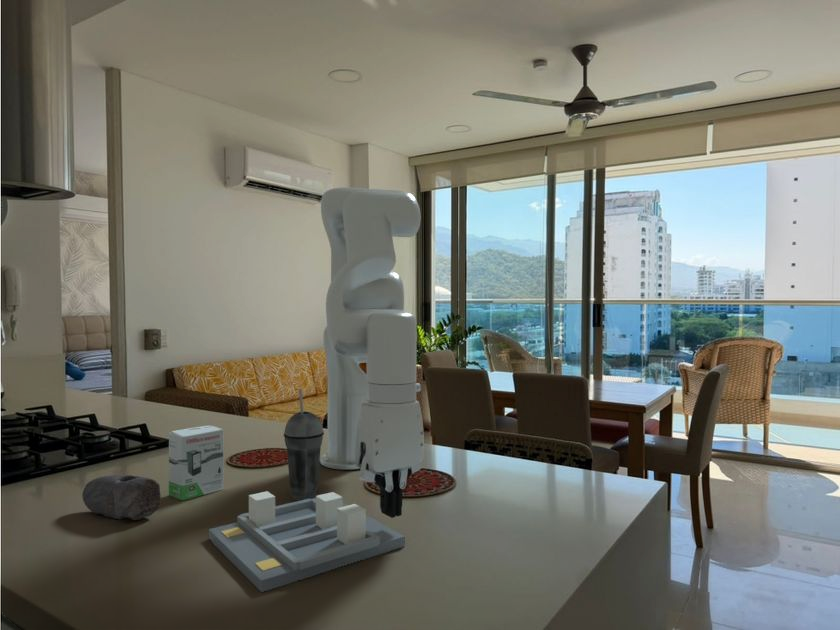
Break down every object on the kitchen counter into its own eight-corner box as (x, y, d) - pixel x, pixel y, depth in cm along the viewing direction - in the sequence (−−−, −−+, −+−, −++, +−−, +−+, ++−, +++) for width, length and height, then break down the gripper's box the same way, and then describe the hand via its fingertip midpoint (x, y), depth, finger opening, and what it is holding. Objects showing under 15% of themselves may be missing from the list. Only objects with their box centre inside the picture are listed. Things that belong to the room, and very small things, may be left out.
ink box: (181, 501, 104) (180, 436, 103) (167, 495, 107) (167, 431, 107) (224, 489, 110) (224, 427, 110) (210, 484, 114) (210, 424, 113)
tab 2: (333, 520, 91) (333, 491, 91) (342, 526, 89) (342, 497, 89) (315, 524, 89) (315, 495, 89) (325, 531, 87) (325, 501, 87)
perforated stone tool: (71, 515, 97) (70, 474, 97) (99, 504, 102) (98, 465, 102) (138, 528, 92) (138, 485, 92) (164, 517, 97) (164, 475, 96)
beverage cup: (331, 492, 109) (331, 386, 108) (311, 505, 102) (311, 392, 102) (297, 487, 111) (296, 384, 111) (275, 500, 105) (275, 389, 104)
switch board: (335, 506, 102) (335, 492, 102) (406, 547, 85) (406, 530, 85) (208, 538, 88) (208, 521, 88) (262, 593, 72) (262, 573, 72)
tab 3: (354, 533, 86) (354, 503, 86) (365, 540, 84) (365, 509, 84) (336, 538, 84) (336, 508, 84) (347, 546, 82) (347, 514, 82)
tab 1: (267, 519, 91) (267, 491, 91) (275, 525, 89) (275, 496, 89) (248, 524, 90) (248, 495, 89) (256, 530, 87) (256, 500, 87)
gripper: (415, 386, 95) (415, 497, 96) (335, 395, 86) (335, 518, 86) (445, 392, 89) (444, 510, 90) (362, 402, 80) (362, 534, 81)
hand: (391, 514), depth 88 cm, fingers closed
